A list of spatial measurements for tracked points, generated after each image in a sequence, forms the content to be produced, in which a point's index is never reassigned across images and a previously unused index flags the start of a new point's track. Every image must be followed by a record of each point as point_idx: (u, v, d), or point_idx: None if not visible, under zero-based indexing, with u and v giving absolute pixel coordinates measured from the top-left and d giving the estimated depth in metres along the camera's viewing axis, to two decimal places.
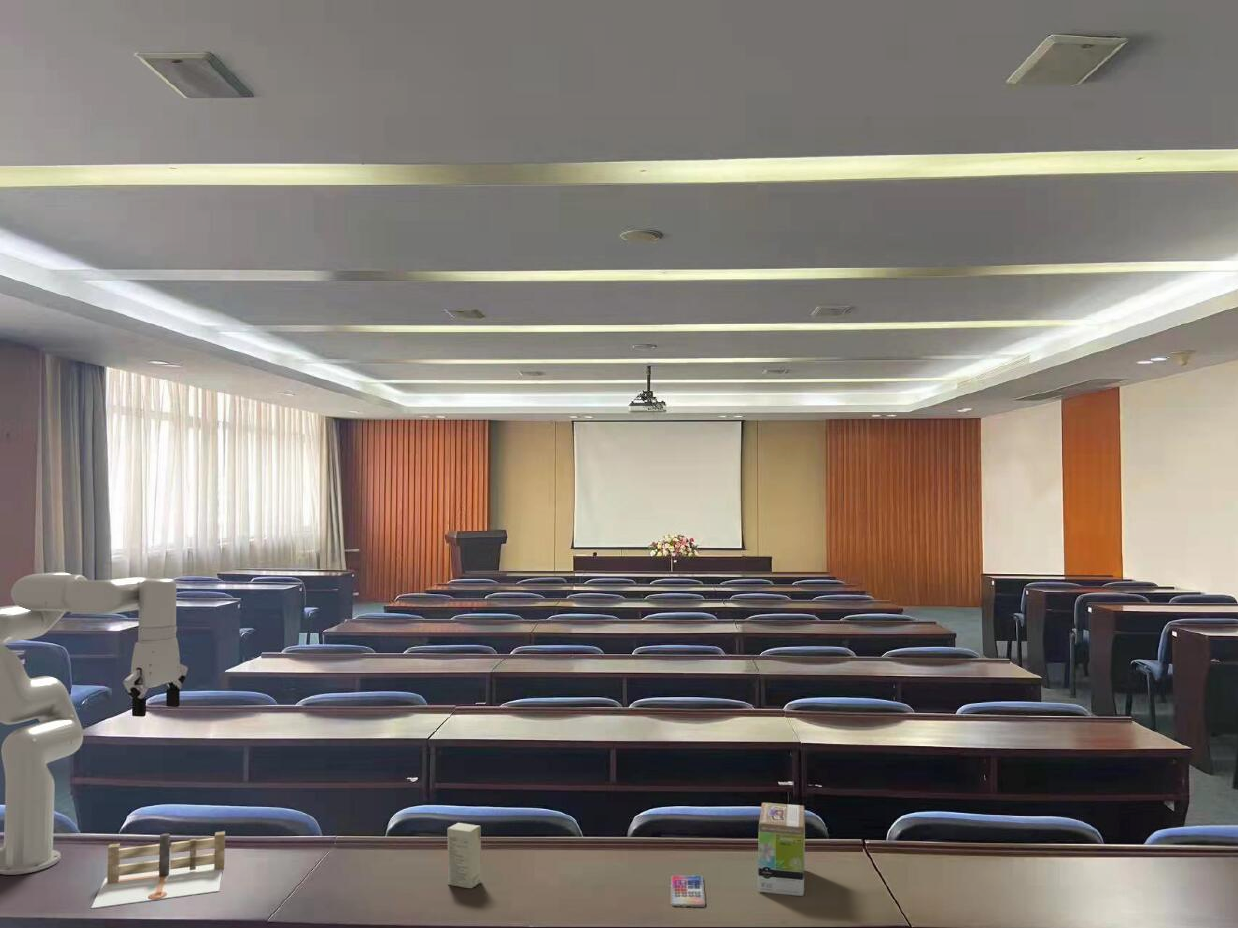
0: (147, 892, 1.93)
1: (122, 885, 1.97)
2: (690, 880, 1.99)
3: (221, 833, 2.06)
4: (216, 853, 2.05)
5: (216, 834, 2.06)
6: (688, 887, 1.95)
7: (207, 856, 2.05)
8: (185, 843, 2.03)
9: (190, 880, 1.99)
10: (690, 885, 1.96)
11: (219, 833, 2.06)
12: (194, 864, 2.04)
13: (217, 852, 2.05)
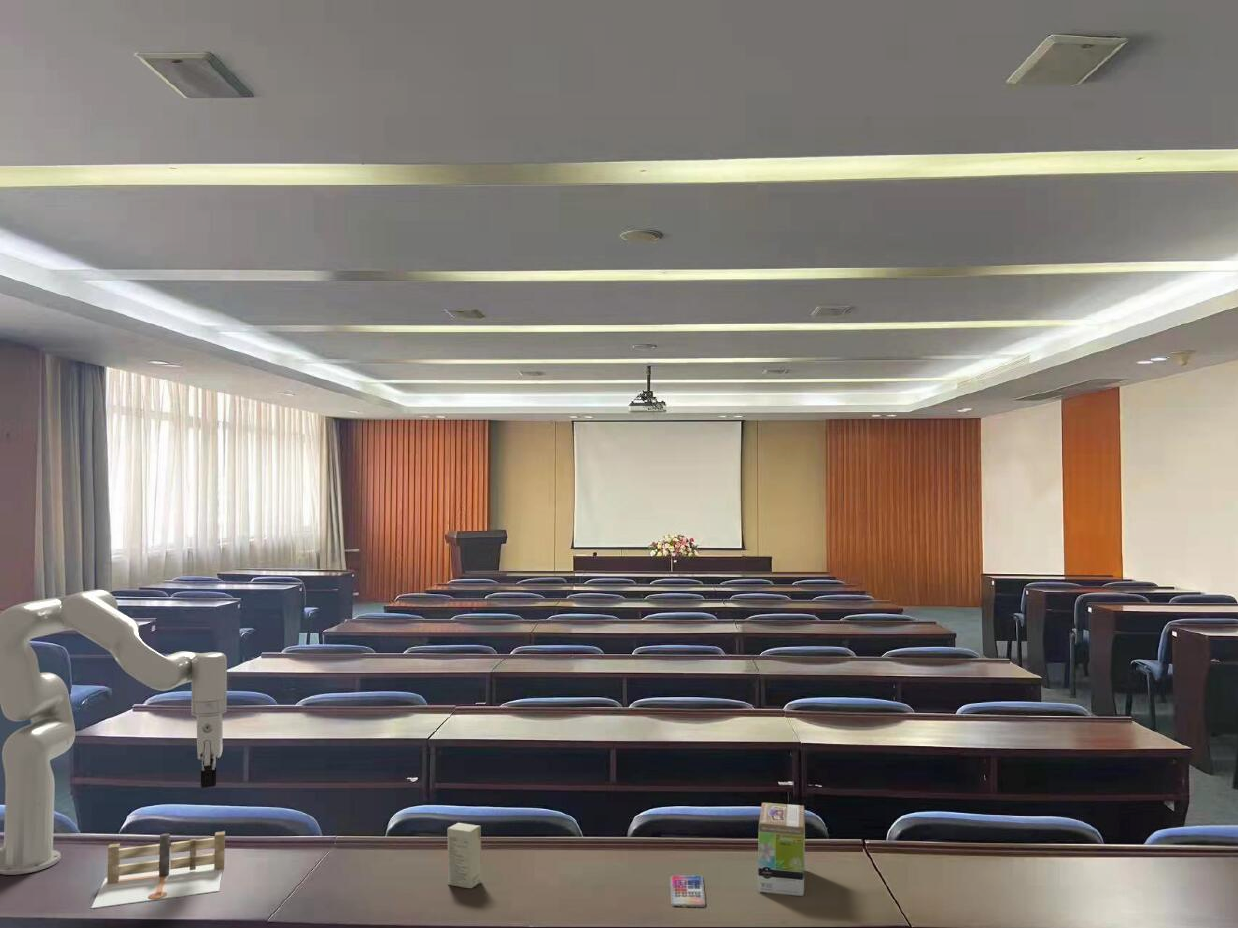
0: (147, 892, 1.93)
1: (122, 885, 1.97)
2: (690, 880, 1.99)
3: (221, 833, 2.06)
4: (216, 853, 2.05)
5: (216, 834, 2.06)
6: (688, 887, 1.95)
7: (207, 856, 2.05)
8: (185, 843, 2.03)
9: (190, 880, 1.99)
10: (690, 885, 1.96)
11: (219, 833, 2.06)
12: (194, 864, 2.04)
13: (217, 852, 2.05)
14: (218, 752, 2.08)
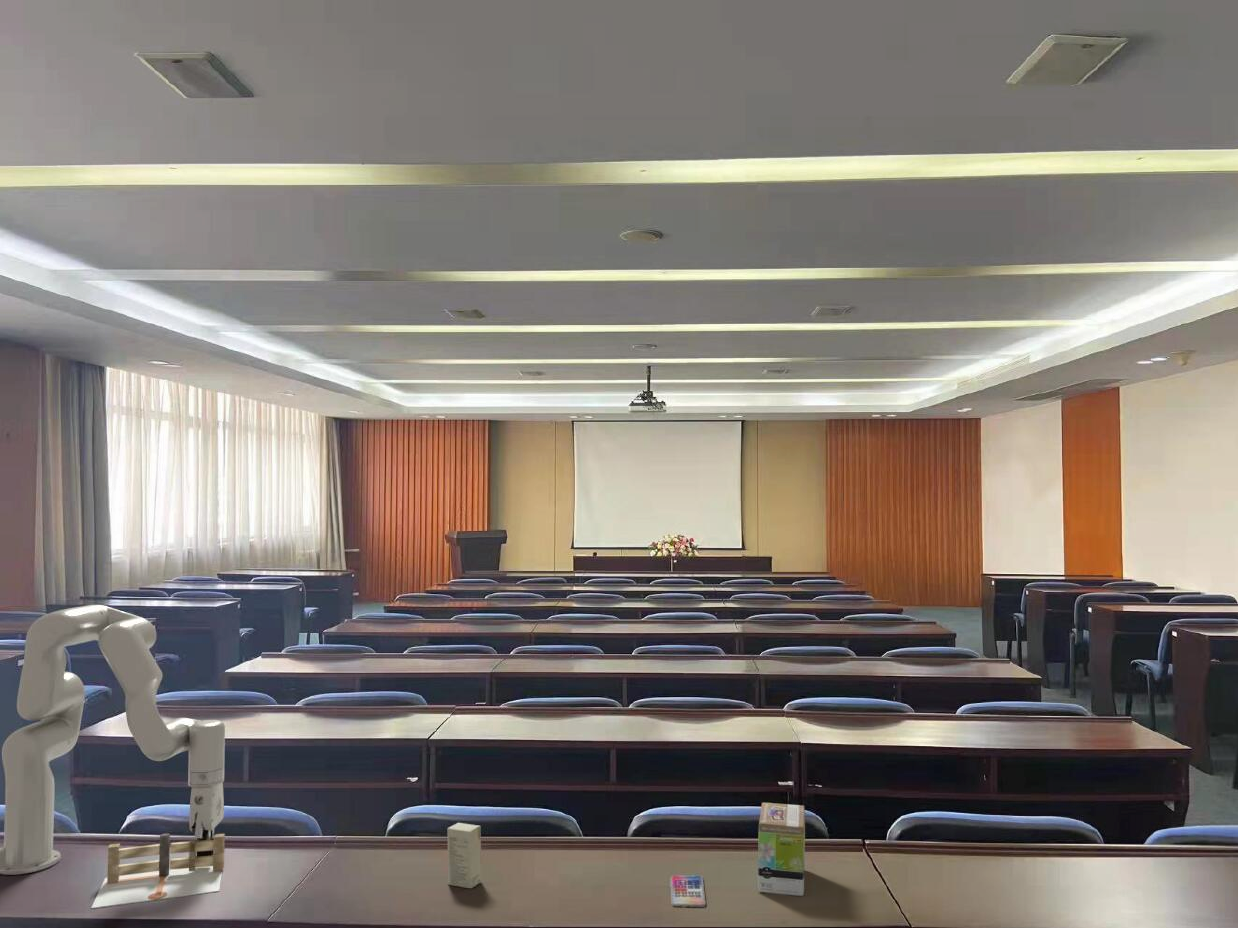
0: (147, 892, 1.93)
1: (122, 885, 1.97)
2: (690, 880, 1.99)
3: (220, 835, 2.05)
4: (215, 855, 2.04)
5: (215, 836, 2.04)
6: (688, 887, 1.95)
7: (206, 858, 2.04)
8: (184, 844, 2.03)
9: (190, 880, 1.99)
10: (690, 885, 1.96)
11: (218, 835, 2.05)
12: (193, 865, 2.03)
13: (215, 854, 2.04)
14: (209, 825, 2.03)
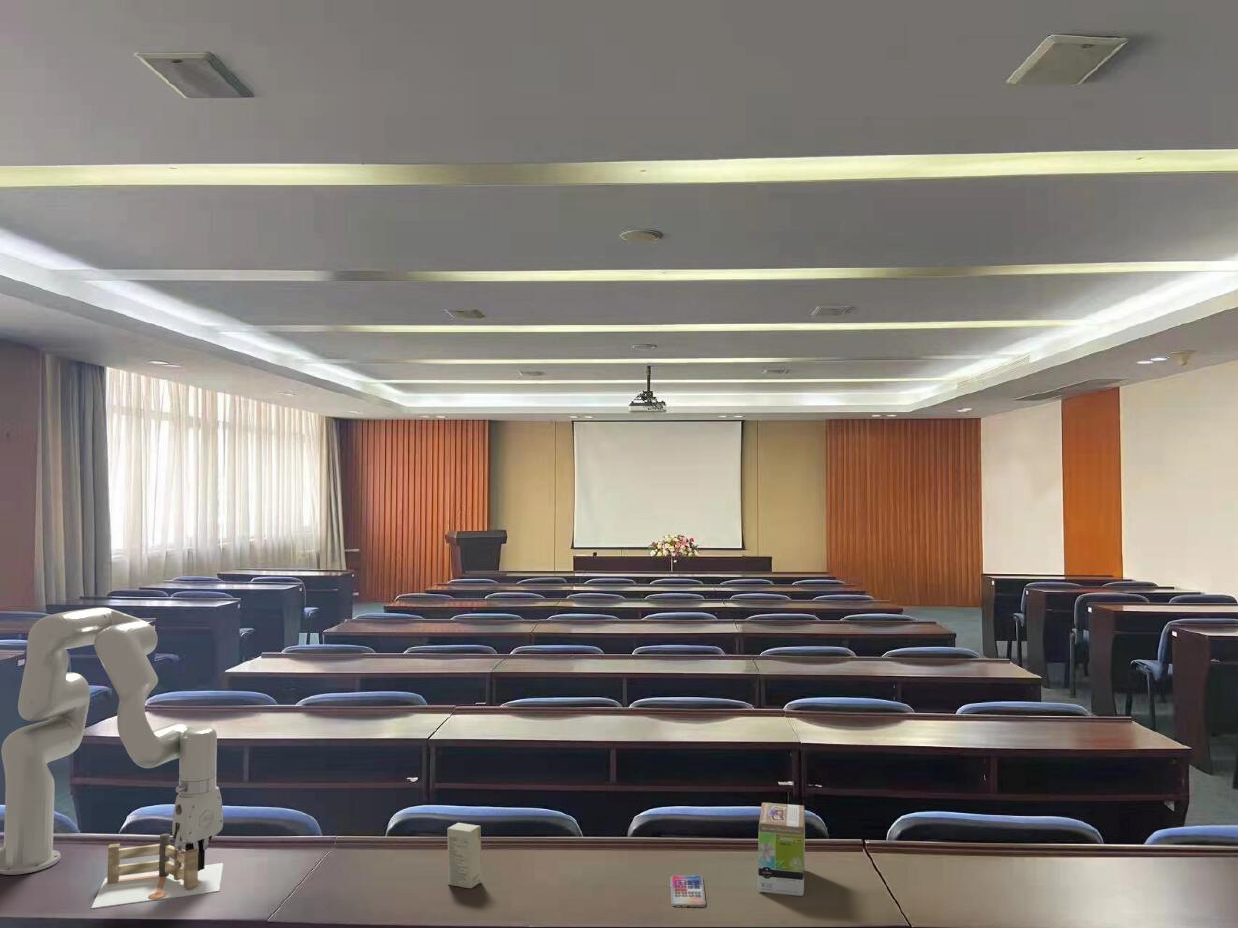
0: (147, 892, 1.93)
1: (122, 885, 1.97)
2: (690, 880, 1.99)
3: (191, 851, 1.95)
4: (184, 871, 1.95)
5: (187, 851, 1.96)
6: (688, 887, 1.95)
7: (182, 871, 1.97)
8: (172, 850, 2.00)
9: None
10: (690, 885, 1.96)
11: (190, 851, 1.96)
12: (176, 874, 1.98)
13: (185, 870, 1.95)
14: (185, 838, 1.96)
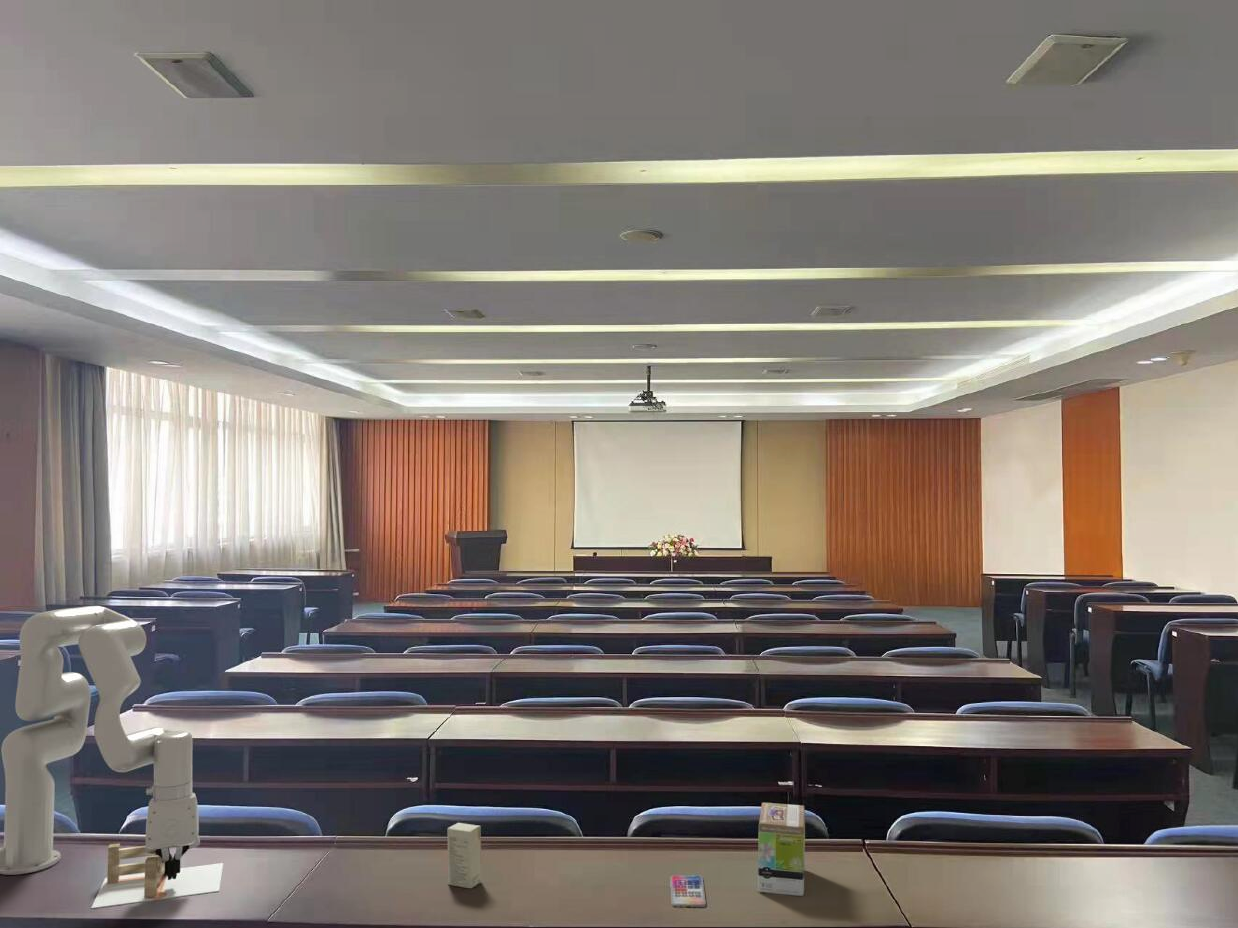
0: None
1: (122, 885, 1.97)
2: (690, 880, 1.99)
3: (149, 859, 1.91)
4: None
5: (150, 857, 1.92)
6: (688, 887, 1.95)
7: None
8: None
9: (190, 880, 1.99)
10: (690, 885, 1.96)
11: (151, 858, 1.92)
12: None
13: None
14: (146, 843, 1.92)
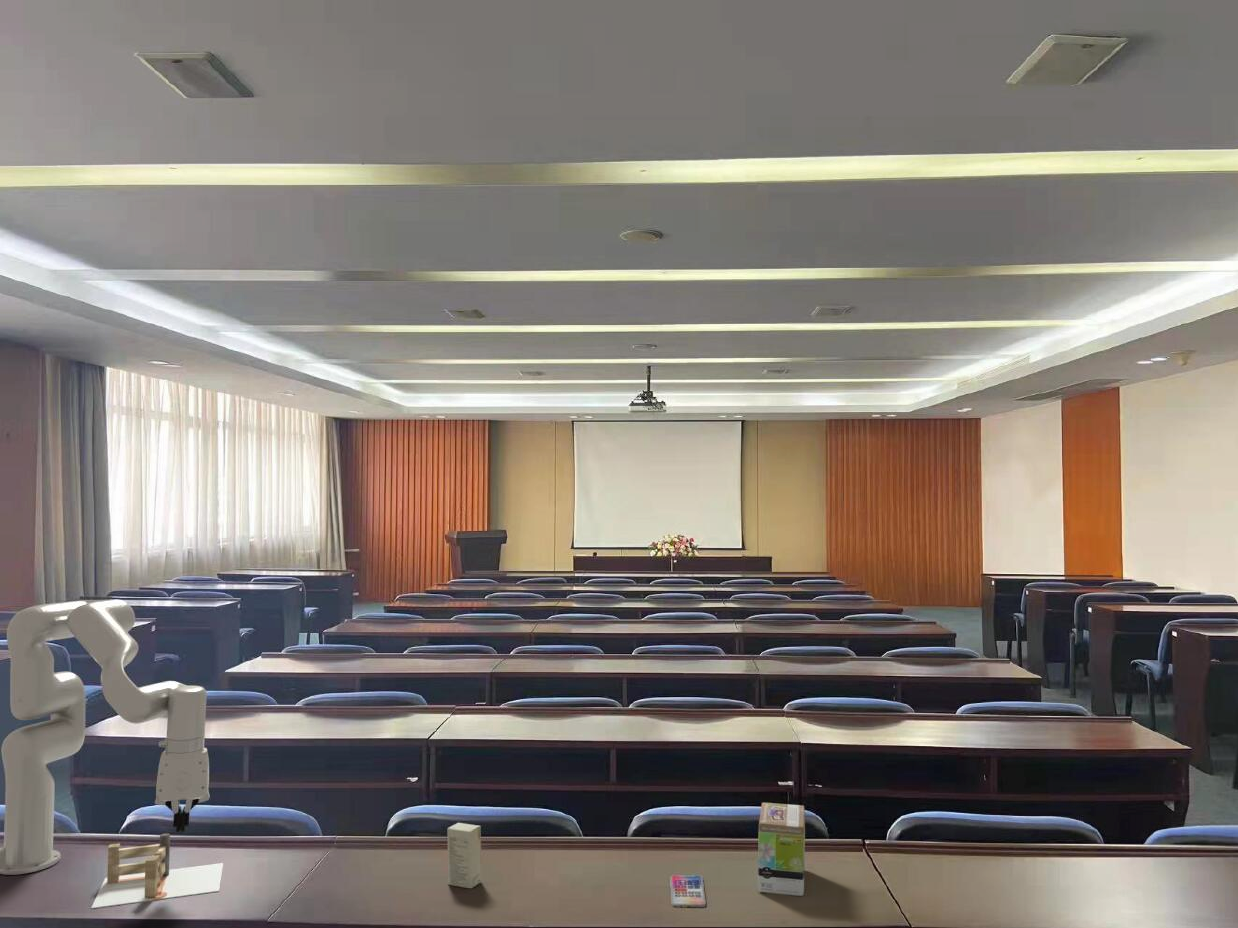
0: None
1: (122, 885, 1.97)
2: (690, 880, 1.99)
3: (150, 859, 1.91)
4: None
5: (150, 857, 1.92)
6: (688, 887, 1.95)
7: None
8: None
9: (190, 880, 1.99)
10: (690, 885, 1.96)
11: (151, 858, 1.92)
12: None
13: None
14: (156, 794, 1.93)
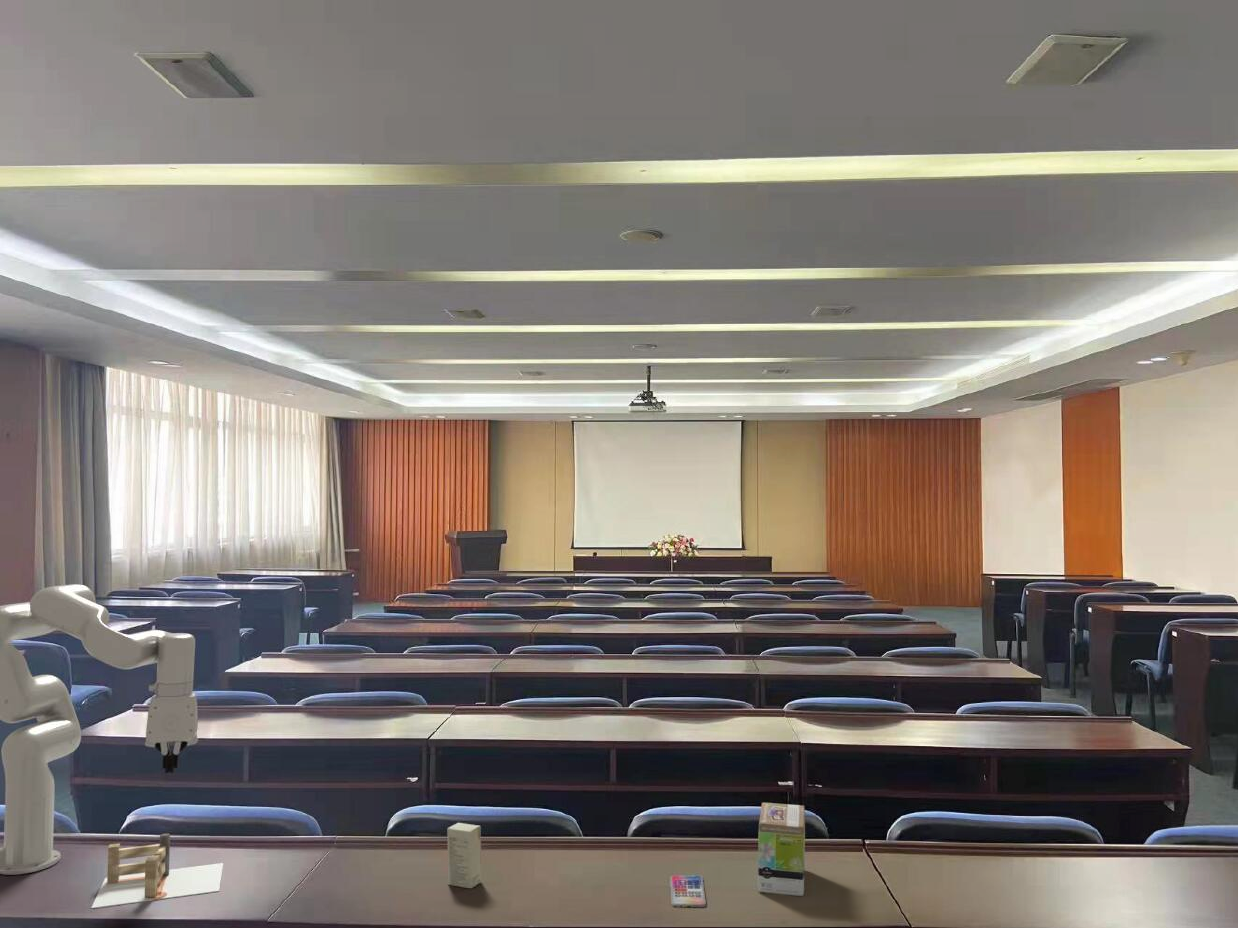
0: None
1: (122, 885, 1.97)
2: (690, 880, 1.99)
3: (150, 859, 1.91)
4: None
5: (150, 857, 1.92)
6: (688, 887, 1.95)
7: None
8: None
9: (190, 880, 1.99)
10: (690, 885, 1.96)
11: (151, 858, 1.92)
12: None
13: None
14: (146, 736, 2.01)
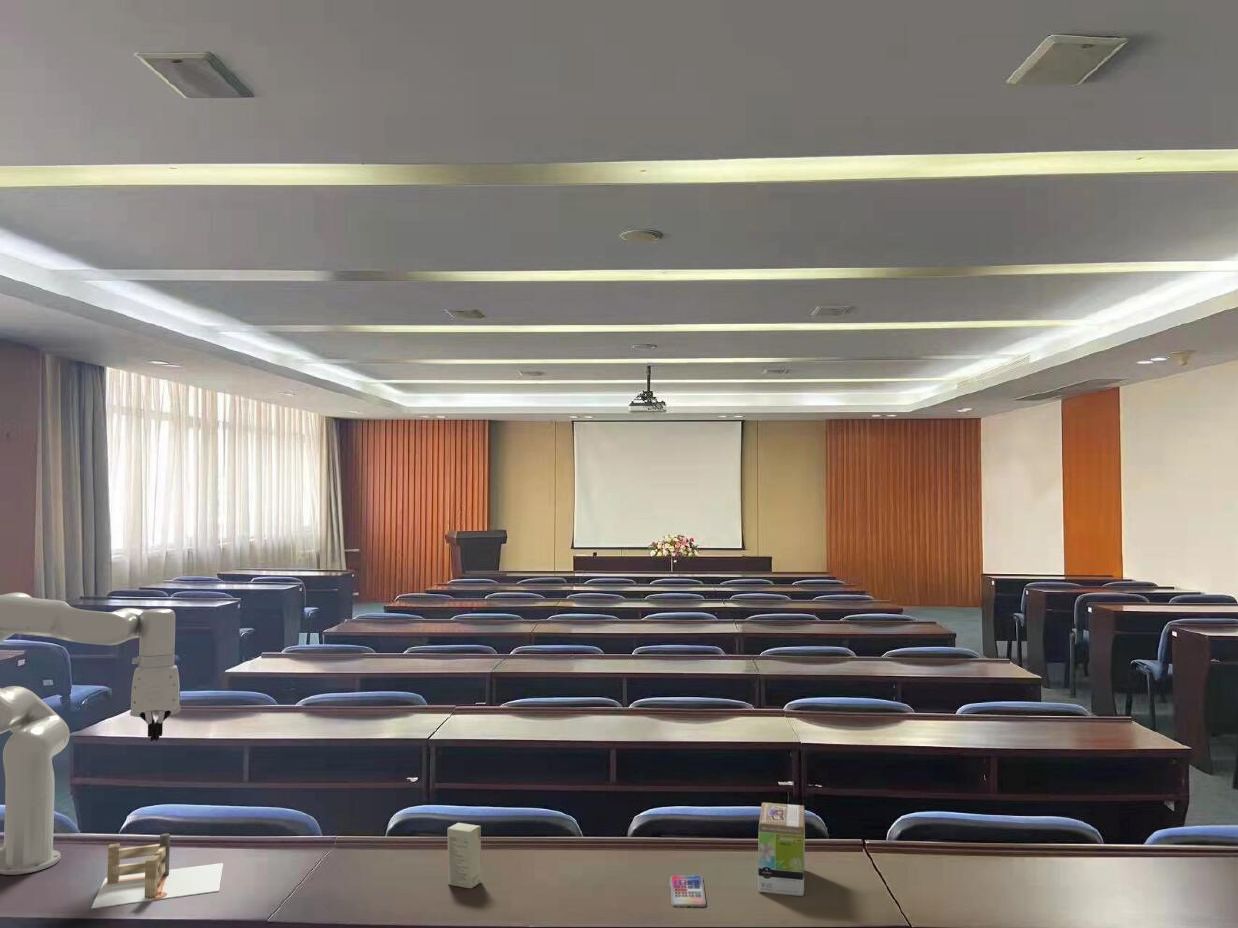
0: None
1: (122, 885, 1.97)
2: (690, 880, 1.99)
3: (150, 859, 1.91)
4: None
5: (150, 857, 1.92)
6: (688, 887, 1.95)
7: None
8: None
9: (190, 880, 1.99)
10: (690, 885, 1.96)
11: (151, 858, 1.92)
12: None
13: None
14: (131, 706, 2.12)
